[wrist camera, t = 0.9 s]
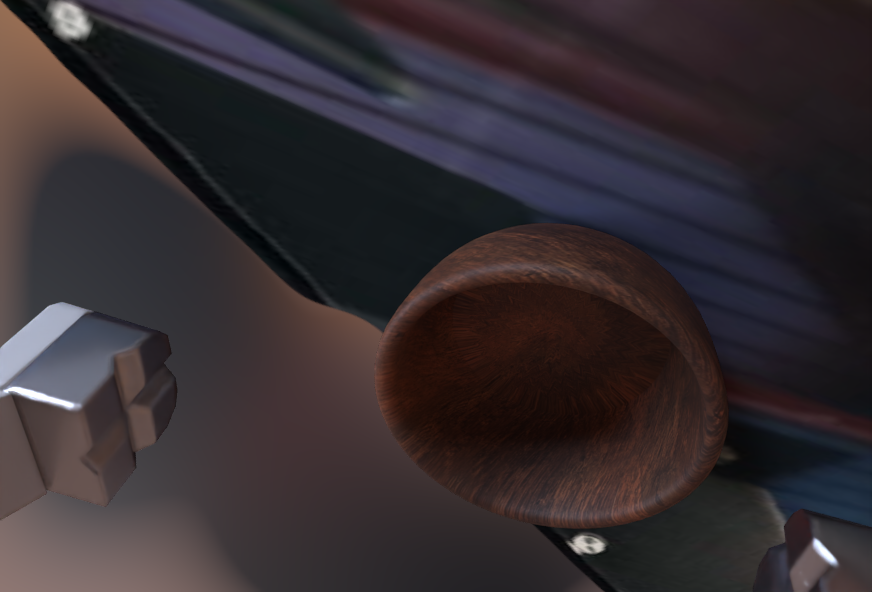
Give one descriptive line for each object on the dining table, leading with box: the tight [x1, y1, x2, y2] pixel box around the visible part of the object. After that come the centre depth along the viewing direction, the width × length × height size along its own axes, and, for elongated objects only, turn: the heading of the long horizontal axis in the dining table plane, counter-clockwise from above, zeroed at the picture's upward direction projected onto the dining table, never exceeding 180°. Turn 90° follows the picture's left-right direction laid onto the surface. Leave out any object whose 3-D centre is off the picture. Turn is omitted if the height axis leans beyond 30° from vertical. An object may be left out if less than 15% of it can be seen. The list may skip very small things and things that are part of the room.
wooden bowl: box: [374, 223, 729, 529], centre depth 56 cm, size 25×25×10 cm
